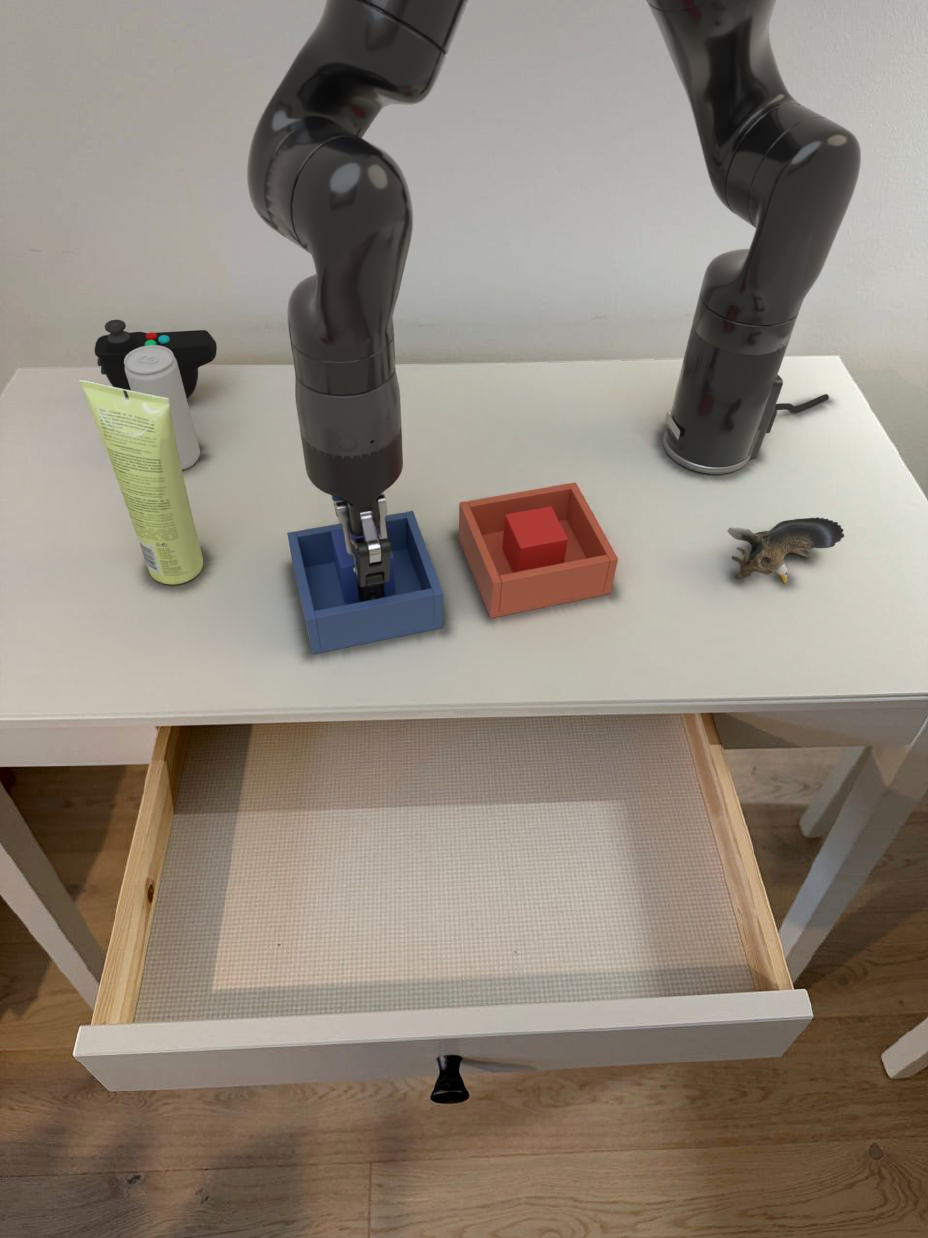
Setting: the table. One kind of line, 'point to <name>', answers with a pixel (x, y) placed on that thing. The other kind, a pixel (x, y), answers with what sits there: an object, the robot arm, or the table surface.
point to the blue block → (346, 569)
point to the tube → (149, 477)
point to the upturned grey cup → (164, 393)
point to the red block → (533, 539)
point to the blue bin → (373, 619)
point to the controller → (184, 345)
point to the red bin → (544, 586)
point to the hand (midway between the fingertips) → (365, 577)
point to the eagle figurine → (784, 543)
